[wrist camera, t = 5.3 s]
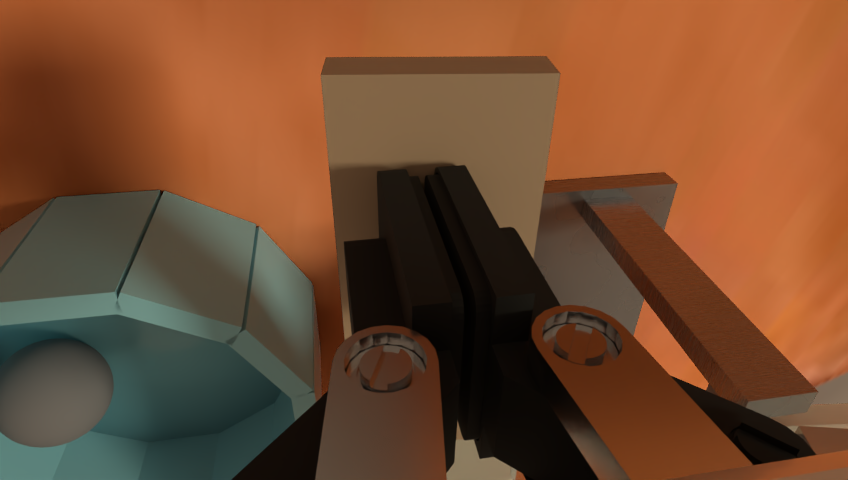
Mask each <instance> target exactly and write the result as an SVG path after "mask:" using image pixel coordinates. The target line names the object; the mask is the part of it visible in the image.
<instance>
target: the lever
mask: <svg viewBox="0 0 848 480" xmlns="http://www.w3.org/2000/svg"><path fill="white" fill-rule="evenodd" d="M559 79H560V72H559V71H558V70H557V69H556V67H555V66H554V65H553V64H552V63H551V61H550V60H549V59H548V58H547V56H508V57H326V59H325V63H324V66H323V69H322V73H321V83H322V94H323V105H324V116H325V127H326V138H327V149H328V160H329V171H330V183H331V194H332V205H333V216H334V227H335V238H336V249H337V260H338V271H339V282H340V293H341V305H342V316H343V327H344V338H345V340H346V339H347V338H349V337H350V336H352V332H351V323H350V313H349V303H348V292H347V280H346V268H345V255H344V241H353V240H365V239H376V238H379V225H378V198H377V171H386V170H400V169H406V170H407V172H408V175H409V176H418V177H419V179H420V182H421V185H422V187H423V190H424V182H425V176H426V175H434V172H435V168H436V167H444V166H459V165H465V166H466V167H467V169H468V171H469V173H470V175H471V176H472V178H473V180H474V182H475V184H476V186H477V187H478V189H479V191H480V193H481V195H482V197H483V198H484V200H485V202H486V204H487V206H488V208H489V209H490V211H491V213H492V215H493V217H494V218H495V220H496V222H497V224H498V226H499V228H503V227H513V228H515V230H516V231H517V232H518V234H519V235H520V237H521V239H522V241H523V242H524V244H525V246H526V247H527V249H528V251H529V252H530V254H531V256H532V258H533V259H534V252H535V245H536V238H537V231H538V224H539V217H540V210H541V203H542V197H543V190H544V183H545V176H546V169H547V162H548V155H549V148H550V141H551V134H552V128H553V121H554V114H555V107H556V100H557V93H558V86H559ZM706 391H708V392H710V393H713V394H715V395H717V396H718V394H717V393H716V392H715V390H714V389H713V388H712V387H711V385H710V384H709V385H708V387H707V390H706ZM771 419H773V420H775V421H777V422H779V423H781V424H783V425H785V426H786V427H788V428H789V429H791V430H792V431H793V432H795V431H796V430H797V428H798V426H810V427H827V428H844V429H848V403H841V404H817V405H810V407H809V409H808V411H807V412H805V413H798V414H792V415H785V416H778V417H771ZM446 477H447V480H512V478H511V475H510V466H509V465H507V464H505V463H503V462H502V461H500V460H498V459H496V458H495V457H490V458H483V459H479V455H478V452H477V449H476V445H475V442H474V439H473V440H466V441H465V440H464V439H463V437H462V434H461V431H460V427H459V424H458V421H457V435H456V445H455V460H454V464H453V465H452V467H451V468H450V469H449V471H448V472H447V473H446Z"/></svg>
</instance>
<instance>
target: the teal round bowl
mask: <svg viewBox="0 0 848 480" xmlns="http://www.w3.org/2000/svg"><path fill="white" fill-rule="evenodd" d="M54 338H65V339H72V340H77V341H80V342H83V343H85V344H88V345H89V346H91V347H93V348H94V349H96V350H97V351H98V352H99V353H100V354H101V355H102V356H103V357H104V358H105V360H106V361H107V363H108V364H109V366H110V369H111V372H112V375H113V381H114V389H113V395H112V400H111V403H110V405H109V407H108V409H107V411H106V413H105V415H104V416H103V417H102V419H101V420H100V421H99V422H98V423H97V424H96V425H95V426H94V427H93V428H92V429H91V430H90V431H89V432H87V433H86V434H84V435H83V436H81V437H79V438H78V439H76V440H74V441H71V442H69V443H66V444H63V445H59V446H54V447H44V448H39V447H29V446H25V445H22V444H19V443H16V442H14V441H12V440H10V439H9V438H7V437H6V436H5V435H3V434H2V433H1V432H0V480H231V479H232V478H233V477H235V476H236V475H237V474H238V473H239V472H240V471H241V470H242V469H243V468H244V467H245V466H247V465H248V464H249V463H250V462H251V461H252V460H253V459H254V458H255V457H256V456H257V455H259V454H260V453H261V452H262V451H263V450H264V449H265V448H266V447H267V446H268V445H270V444H271V443H272V442H273V441H274V440H275V439H276V438H277V437H278V436H279V435H280V434H282V433H283V432H284V431H285V430H286V429H287V428H288V427H289V426H290V425H291V424H292V423H294V422H295V421H296V420H297V419H298V418H299V417H300V416H301V415H302V414H303V413H304V412H306V411H307V410H308V409H309V408H310V407H311V406H312V405H313V404H314V403H315V402H317V401H318V400H319V399H320V398H321V397H322V383H321V346H320V337H319V329H318V321H317V313H316V304H315V296H314V288H313V285H312V282H311V281H310V280H309V279H308V278H307V277H306V276H305V275H304V274H303V273H302V272H301V271H300V269H299V268H298V267H297V266H296V265H295V264H294V263H293V262H292V261H291V260H290V259H289V258H288V257H287V255H286V254H285V253H284V252H283V251H282V250H281V249H280V248H279V247H278V246H277V245H276V244H275V243H274V241H273V240H272V239H271V238H270V237H269V236H268V235H267V234H266V233H265V232H264V231H263V230H262V229H261V228H260V226H259V227H257V228H256V224H254V223H251V222H249V221H246V220H243V219H241V218H238V217H235V216H232V215H230V214H227V213H224V212H221V211H219V210H216V209H213V208H210V207H208V206H205V205H202V204H200V203H197V202H194V201H191V200H189V199H186V198H183V197H180V196H178V195H175V194H172V193H170V192H167V191H164V192H163V194H162V195H161V192H160V190H152V191H137V192H122V193H107V194H92V195H78V196H63V197H57V198H56V199H54V198H53V199H51V200H49V201H48V202H46V203H45V204H43V205H42V206H40V207H39V208H37V209H36V210H34V211H33V212H31V213H30V214H28V215H27V216H25V217H24V218H22V219H21V220H19V221H18V222H16V223H14V224H13V225H11V226H10V227H8V228H7V229H5V230H4V231H2V232H1V233H0V366H1V365H2V364H3V363H4V362H5V361H6V360H7V359H8V358H9V357H10V356H11V355H13V354H14V353H15V352H17V351H18V350H20V349H22V348H24V347H25V346H28V345H30V344H32V343H35V342H39V341H42V340H47V339H54Z"/></svg>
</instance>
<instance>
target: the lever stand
mask: <svg viewBox="0 0 848 480" xmlns="http://www.w3.org/2000/svg"><path fill="white" fill-rule="evenodd" d="M677 184H678V183H676V182H675V181H674V180H673V179H672V178H671V177H670V176H668V175H667V174H666V173H653V174H639V175H626V176H612V177H598V178H584V179H570V180H556V181H545V183H544V190H543V197H542V203H541V210H540V217H539V224H538V231H537V238H536V245H535V252H534V261H535V263H536V264H537V266H538V268H539V269H540V271H541V273H542V274H543V276H544V278H545V280H546V281H547V283H548V285H549V286H550V288H551V290H552V291H553V293H554V295H555V297H556V298H557V300H558V302H559V303H560V305H561V306H564V305H578V306H586V307H589V308H593V309H596V310H600V311H602V312H604V313H606V314H608V315H610V316H611V317H613V318H615V319H616V320H617V321H618V322H619V323H621V324H622V325H623V326H624V327H625V328H626V329H627V330H628V331H629V332H630V333H631V334H632V335H634V332H635V328H636V325H637V321H638V318H639V314H640V311H641V308H642V304H643V301H644V299H645V300H646V302H647V303H648V304H649V306H650V307H651V308H652V309H653V311H654V312H655V313H656V315H657V316H658V317H659V319H660V320H661V321H662V323H663V324H664V325H665V326H666V328H667V329H668V330H669V332H670V333H671V334H672V336H673V337H674V338H675V339H676V341H677V342H678V343H679V345H680V346H681V347H682V349H683V350H684V351H685V353H686V354H687V355H688V356H689V358H690V359H691V360H692V362H693V363H694V364H695V366H696V367H697V368H698V370H699V371H700V372H701V373H702V375H703V376H704V377H705V379H706V380H707V381H708V383H709V384H710V385H711V387H712V388H713V389H714V390H715V392H716V393H717V394H718V396H720V397H722V398H724V399H727V400H729V401H732V402H734V403H736V404H739V405H741V406H743V407H746V408H748V409H750V410H753V411H755V412H758V413H760V414H762V415H765V416H767V417H769V418H771V417H778V416H785V415H792V414H798V413H805V412H807V411H808V409H809V407H810V405H811V403H812V402H813V400H814V399H815V397H816V395H817V393H818V391H817V390H816V389H815V388H814V387H813V386H812V385H811V384H810V383H809V382H808V381H807V380H806V378H805V377H804V376H803V375H802V374H801V373H800V372H799V371H798V370H797V369H796V368H795V367H794V366H793V365H792V364H791V363H790V362H789V361H788V360H787V359H786V358H785V357H784V356H783V354H782V353H781V352H780V351H779V350H778V349H777V348H776V347H775V346H774V345H773V344H772V343H771V342H770V341H769V340H768V339H767V338H766V337H765V336H764V335H763V334H762V333H761V332H760V330H759V329H758V328H757V327H756V326H755V325H754V324H753V323H752V322H751V321H750V320H749V319H748V318H747V317H746V316H745V315H744V314H743V313H742V312H741V311H740V310H739V309H738V308H737V306H736V305H735V304H734V303H733V302H732V301H731V300H730V299H729V298H728V297H727V296H726V295H725V294H724V293H723V292H722V291H721V290H720V289H719V288H718V287H717V286H716V285H715V284H714V282H713V281H712V280H711V279H710V278H709V277H708V276H707V275H706V274H705V273H704V272H703V271H702V270H701V269H700V268H699V267H698V266H697V265H696V264H695V263H694V262H693V261H692V260H691V258H690V257H689V256H688V255H687V254H686V253H685V252H684V251H683V250H682V249H681V248H680V247H679V246H678V245H677V244H676V243H675V242H674V241H673V240H672V239H671V238H670V237H669V236H668V234H667V233H666V232H665V231H664V229H665V225H666V222H667V218H668V215H669V212H670V208H671V205H672V201H673V198H674V194H675V191H676V188H677Z"/></svg>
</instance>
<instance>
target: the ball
mask: <svg viewBox="0 0 848 480" xmlns="http://www.w3.org/2000/svg"><path fill="white" fill-rule="evenodd" d="M113 389H114V381H113V375H112V372H111V369H110V366H109V364H108V363H107V361H106V360H105V358H104V357H103V356H102V355H101V354H100V353H99V352H98V351H97V350H96V349H94V348H93V347H91V346H89V345H88V344H85V343H83V342H80V341H77V340H72V339H65V338H54V339H47V340H42V341H39V342H35V343H32V344H30V345H28V346H25V347H24V348H22V349H20V350H18V351H17V352H15V353H14V354H13V355H11V356H10V357H9V358H8V359H7V360H6V361H5V362H4V363H3V364H2V365H1V366H0V432H1V433H2V434H3V435H5V436H6V437H7V438H9V439H10V440H12V441H14V442H16V443H19V444H22V445H25V446H29V447H39V448H44V447H54V446H59V445H63V444H66V443H69V442H71V441H74V440H76V439H78V438H79V437H81V436H83V435H84V434H86V433H87V432H89V431H90V430H91V429H92V428H93V427H94V426H95V425H96V424H97V423H98V422H99V421H100V420H101V419H102V417H103V416H104V415H105V413H106V411H107V409H108V407H109V405H110V403H111V400H112V395H113Z"/></svg>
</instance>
